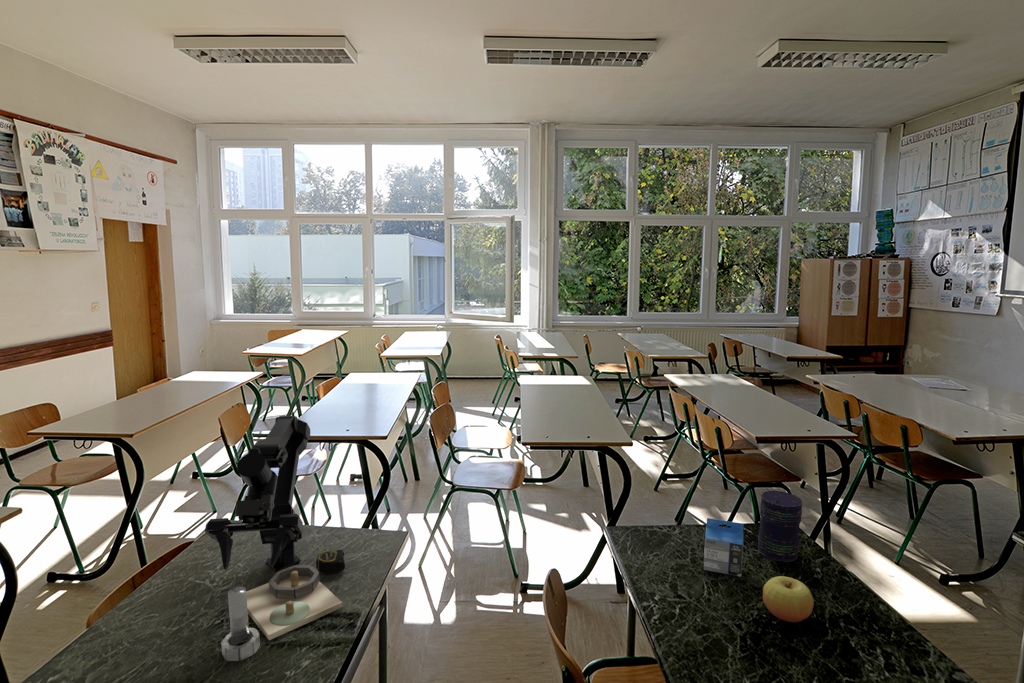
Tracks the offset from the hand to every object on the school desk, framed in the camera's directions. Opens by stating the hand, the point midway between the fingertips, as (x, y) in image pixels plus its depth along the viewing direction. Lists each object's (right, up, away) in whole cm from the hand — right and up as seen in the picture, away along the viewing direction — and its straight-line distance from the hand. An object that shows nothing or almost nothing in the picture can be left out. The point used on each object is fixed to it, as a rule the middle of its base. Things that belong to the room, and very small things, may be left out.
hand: (248, 567), depth 117 cm
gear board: (+5, -12, +9) cm, 16 cm away
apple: (+115, -13, +6) cm, 115 cm away
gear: (+1, -14, -5) cm, 15 cm away
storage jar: (+125, -9, +32) cm, 129 cm away
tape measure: (+10, -10, +24) cm, 28 cm away
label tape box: (+107, -10, +23) cm, 110 cm away
